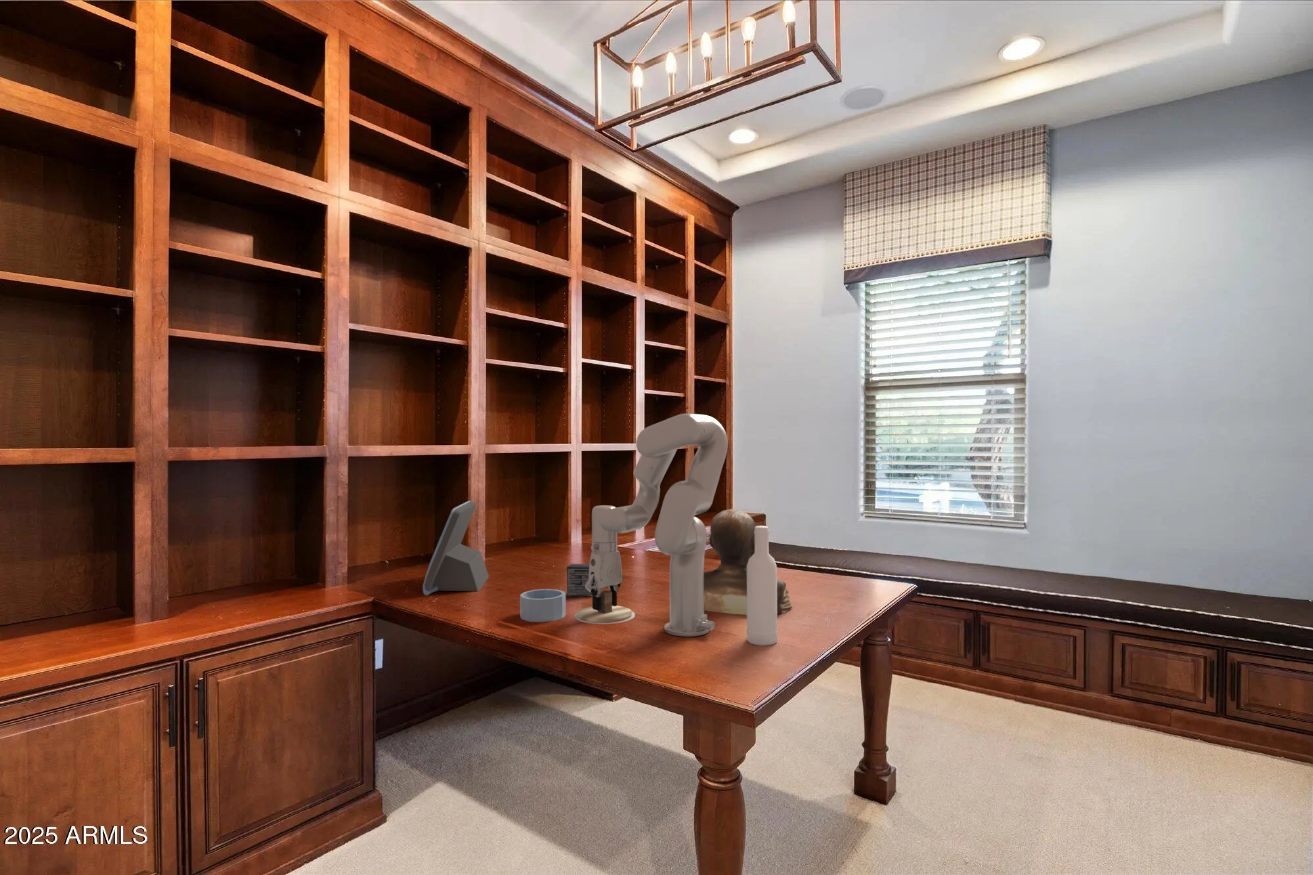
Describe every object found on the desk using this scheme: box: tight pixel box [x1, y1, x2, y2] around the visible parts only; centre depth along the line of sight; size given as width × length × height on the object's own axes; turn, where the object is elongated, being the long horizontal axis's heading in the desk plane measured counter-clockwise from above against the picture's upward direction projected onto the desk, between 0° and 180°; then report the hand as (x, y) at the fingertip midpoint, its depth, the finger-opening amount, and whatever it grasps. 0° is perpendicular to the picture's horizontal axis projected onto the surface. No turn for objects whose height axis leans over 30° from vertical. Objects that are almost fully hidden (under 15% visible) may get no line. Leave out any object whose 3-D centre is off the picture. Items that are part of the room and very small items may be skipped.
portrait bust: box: [704, 508, 793, 616], centre depth 206 cm, size 21×35×31 cm, turn 63°
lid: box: [577, 590, 633, 623], centre depth 192 cm, size 16×16×7 cm
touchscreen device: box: [422, 500, 489, 596], centre depth 238 cm, size 35×20×30 cm, turn 6°
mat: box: [574, 611, 636, 625], centre depth 192 cm, size 18×18×1 cm
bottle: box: [746, 525, 779, 647], centre depth 169 cm, size 8×8×30 cm
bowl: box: [519, 588, 567, 623], centre depth 192 cm, size 13×13×7 cm
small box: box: [566, 563, 597, 598], centre depth 220 cm, size 11×6×10 cm, turn 84°
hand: (604, 607), depth 192 cm, fingers open, 5 cm apart
